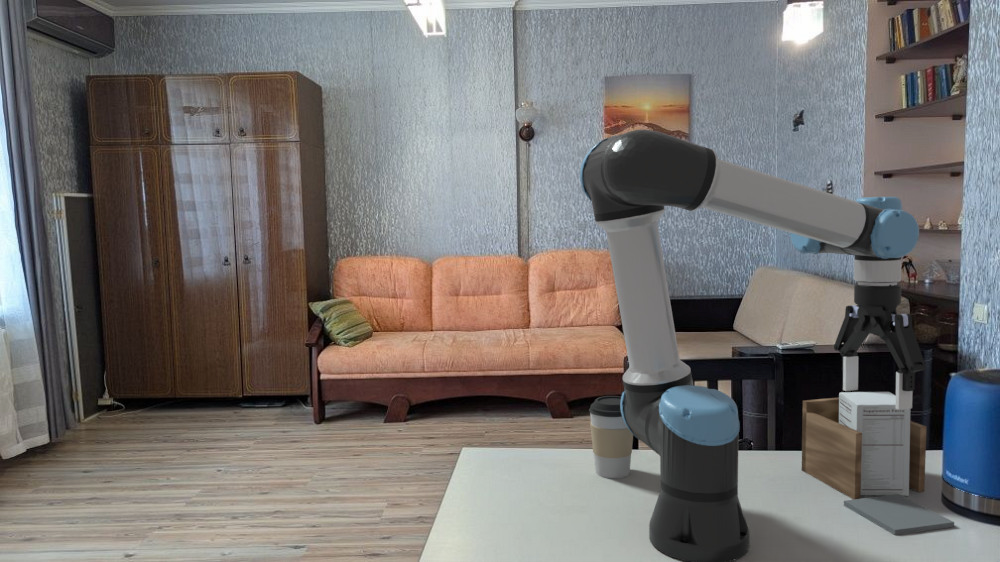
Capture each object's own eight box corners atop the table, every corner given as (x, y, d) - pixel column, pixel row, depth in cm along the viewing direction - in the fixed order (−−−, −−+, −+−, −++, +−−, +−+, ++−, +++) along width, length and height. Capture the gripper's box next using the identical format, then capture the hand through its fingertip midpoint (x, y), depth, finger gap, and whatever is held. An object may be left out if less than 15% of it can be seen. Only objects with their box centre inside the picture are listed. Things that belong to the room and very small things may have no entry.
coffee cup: (585, 478, 142) (585, 402, 140) (593, 462, 151) (592, 391, 149) (632, 482, 139) (632, 405, 138) (638, 466, 148) (637, 393, 146)
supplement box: (888, 477, 139) (890, 390, 137) (910, 496, 129) (913, 404, 128) (836, 477, 139) (837, 390, 138) (854, 496, 130) (856, 403, 129)
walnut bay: (854, 499, 129) (856, 422, 127) (801, 470, 143) (802, 400, 142) (924, 491, 132) (926, 415, 130) (865, 463, 146) (867, 395, 145)
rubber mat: (894, 534, 115) (895, 530, 115) (843, 505, 126) (843, 500, 126) (954, 526, 117) (954, 522, 117) (898, 498, 129) (898, 494, 129)
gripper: (951, 288, 119) (948, 415, 122) (848, 276, 144) (847, 381, 146) (912, 291, 118) (910, 419, 120) (815, 278, 142) (814, 384, 144)
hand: (875, 399), depth 133 cm, fingers open, 13 cm apart
